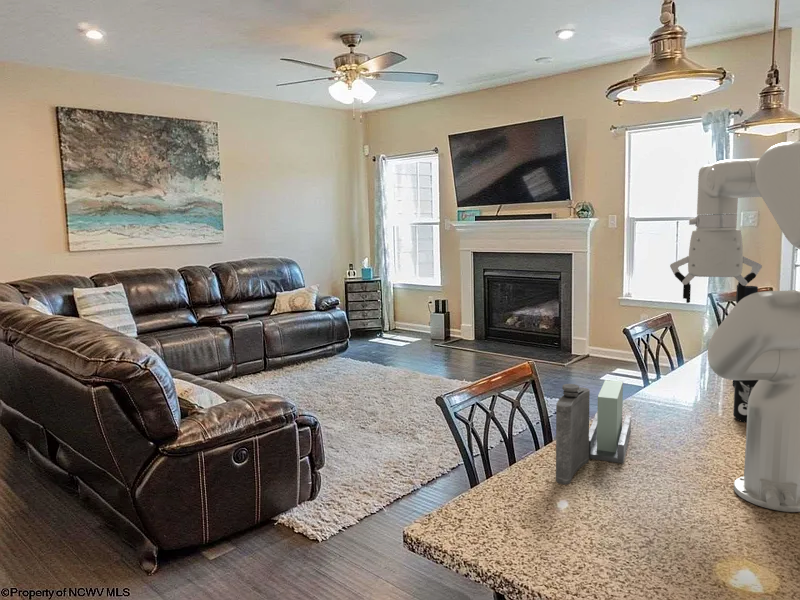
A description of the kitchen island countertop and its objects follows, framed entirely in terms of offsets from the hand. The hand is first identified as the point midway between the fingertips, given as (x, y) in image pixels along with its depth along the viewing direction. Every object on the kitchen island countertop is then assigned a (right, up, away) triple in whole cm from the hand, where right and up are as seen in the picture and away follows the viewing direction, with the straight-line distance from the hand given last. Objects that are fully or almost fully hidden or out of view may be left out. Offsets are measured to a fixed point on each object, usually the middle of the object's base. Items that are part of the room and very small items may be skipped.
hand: (712, 302), depth 125 cm
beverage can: (+20, -30, +20) cm, 40 cm away
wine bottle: (+35, -25, +47) cm, 64 cm away
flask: (-33, -35, -6) cm, 48 cm away
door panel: (-20, -31, +7) cm, 38 cm away
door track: (-20, -32, +7) cm, 39 cm away
